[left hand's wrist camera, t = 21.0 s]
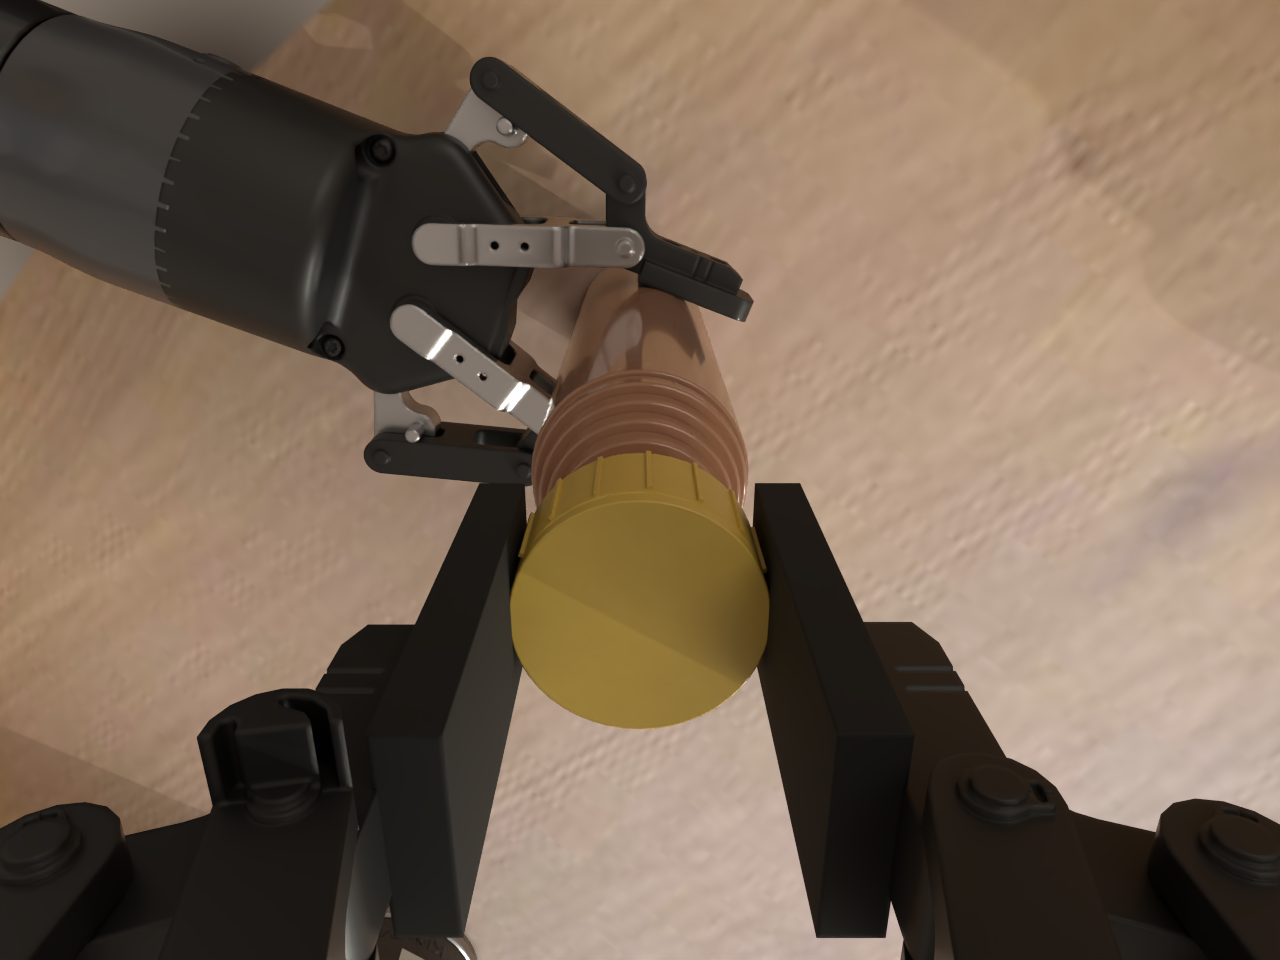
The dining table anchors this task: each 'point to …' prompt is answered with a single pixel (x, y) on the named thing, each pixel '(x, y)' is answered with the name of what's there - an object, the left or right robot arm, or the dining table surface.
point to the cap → (639, 593)
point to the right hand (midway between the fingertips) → (713, 379)
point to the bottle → (638, 388)
